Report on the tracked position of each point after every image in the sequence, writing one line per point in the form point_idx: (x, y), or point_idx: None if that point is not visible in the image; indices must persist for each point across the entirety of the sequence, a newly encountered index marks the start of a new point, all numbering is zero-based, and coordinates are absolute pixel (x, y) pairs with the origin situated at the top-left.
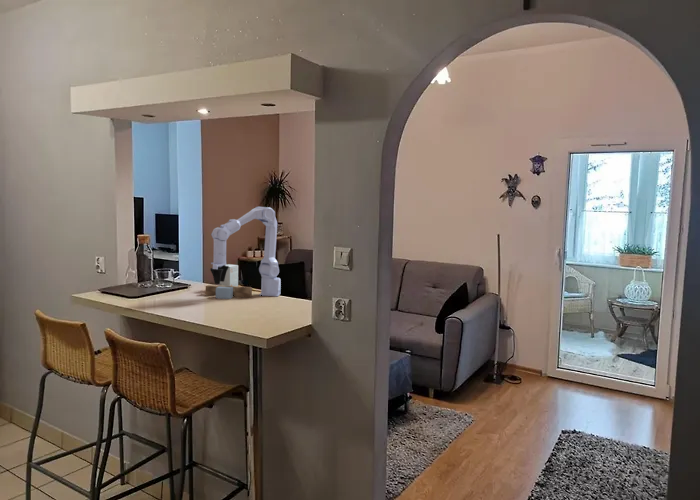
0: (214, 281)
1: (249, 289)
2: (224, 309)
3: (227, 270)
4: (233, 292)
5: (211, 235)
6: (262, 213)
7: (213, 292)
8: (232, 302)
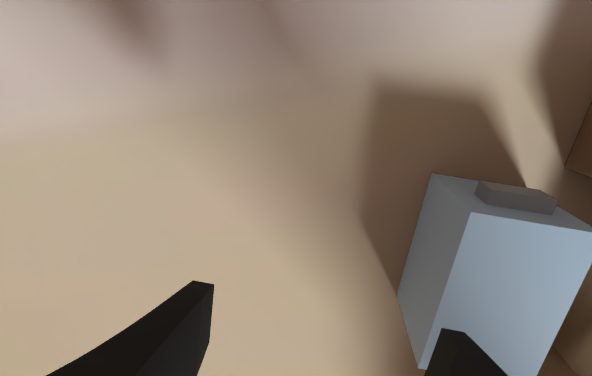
0: (167, 299)
1: None
2: (9, 281)
3: None
4: (573, 334)
5: None
6: None
7: None
8: (253, 318)
